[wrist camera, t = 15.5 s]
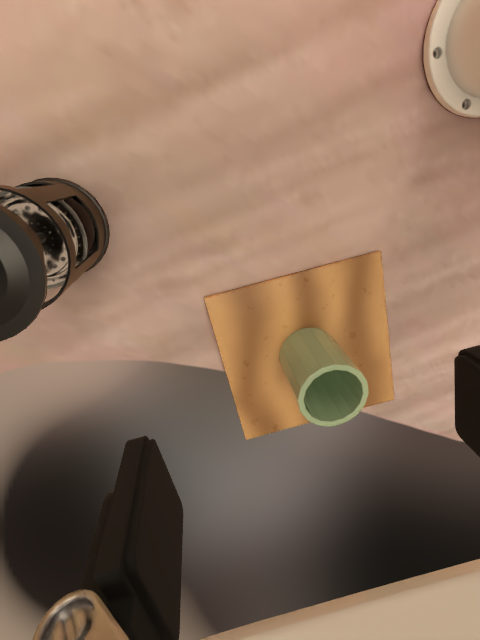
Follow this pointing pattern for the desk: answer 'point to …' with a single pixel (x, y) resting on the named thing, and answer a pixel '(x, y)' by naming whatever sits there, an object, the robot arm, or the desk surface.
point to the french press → (43, 246)
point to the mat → (290, 316)
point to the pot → (322, 377)
